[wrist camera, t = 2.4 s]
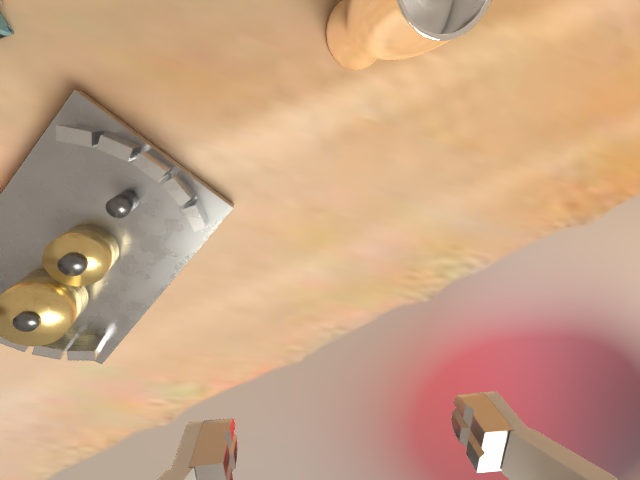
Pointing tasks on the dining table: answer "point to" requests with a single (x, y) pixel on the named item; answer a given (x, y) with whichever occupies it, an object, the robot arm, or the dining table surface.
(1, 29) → the push button
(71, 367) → the dining table surface
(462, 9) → the beer glass
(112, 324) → the carrier
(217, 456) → the robot arm
